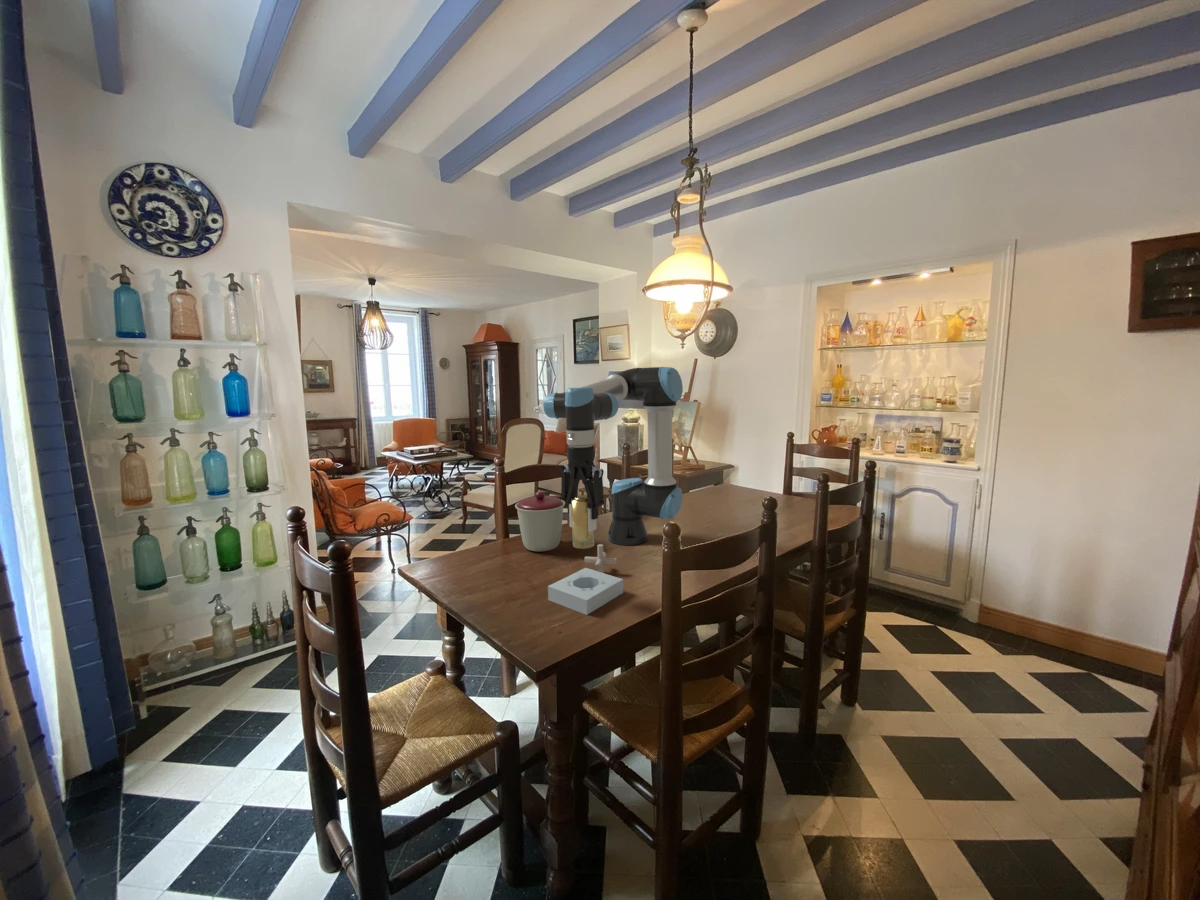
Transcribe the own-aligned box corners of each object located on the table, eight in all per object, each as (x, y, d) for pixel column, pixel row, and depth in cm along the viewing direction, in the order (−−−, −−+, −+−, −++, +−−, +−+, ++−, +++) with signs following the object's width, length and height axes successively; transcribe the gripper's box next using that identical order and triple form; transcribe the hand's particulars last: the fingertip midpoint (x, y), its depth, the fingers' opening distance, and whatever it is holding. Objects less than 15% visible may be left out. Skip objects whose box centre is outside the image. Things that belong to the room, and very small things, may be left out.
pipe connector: (613, 583, 144) (613, 551, 142) (581, 581, 146) (580, 550, 144) (619, 570, 153) (618, 540, 152) (588, 568, 155) (588, 539, 154)
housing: (585, 583, 144) (585, 567, 143) (623, 595, 136) (623, 579, 135) (548, 603, 132) (547, 586, 131) (586, 618, 123) (586, 600, 122)
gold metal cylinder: (582, 539, 136) (580, 493, 134) (598, 543, 133) (597, 496, 131) (568, 545, 132) (566, 498, 130) (584, 550, 128) (583, 501, 126)
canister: (532, 560, 163) (529, 500, 160) (508, 545, 178) (505, 490, 175) (575, 548, 174) (574, 492, 171) (550, 535, 188) (548, 483, 185)
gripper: (545, 444, 131) (548, 525, 134) (599, 449, 119) (601, 538, 123) (564, 441, 137) (566, 518, 140) (617, 446, 125) (618, 530, 129)
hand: (583, 527), depth 131 cm, fingers closed on gold metal cylinder, 6 cm apart
